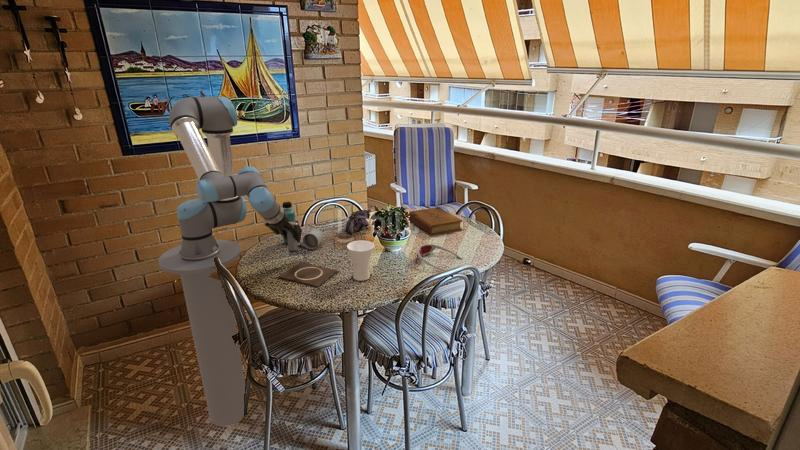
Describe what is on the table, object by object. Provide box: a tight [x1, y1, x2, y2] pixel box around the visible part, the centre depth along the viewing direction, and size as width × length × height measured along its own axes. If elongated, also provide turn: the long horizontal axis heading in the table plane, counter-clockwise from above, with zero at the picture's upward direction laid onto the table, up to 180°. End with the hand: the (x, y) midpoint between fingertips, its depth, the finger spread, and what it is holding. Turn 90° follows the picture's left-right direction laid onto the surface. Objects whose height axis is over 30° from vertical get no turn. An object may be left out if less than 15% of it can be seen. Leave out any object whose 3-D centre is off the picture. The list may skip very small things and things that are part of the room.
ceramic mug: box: [299, 228, 325, 250], centre depth 188 cm, size 11×8×8 cm
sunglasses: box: [416, 243, 462, 272], centre depth 174 cm, size 17×17×5 cm
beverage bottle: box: [282, 201, 296, 243], centre depth 189 cm, size 6×7×20 cm
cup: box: [346, 239, 375, 282], centre depth 158 cm, size 10×10×14 cm
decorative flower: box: [345, 209, 372, 235], centre depth 207 cm, size 15×12×15 cm
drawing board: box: [278, 262, 339, 288], centre depth 162 cm, size 18×14×1 cm
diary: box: [408, 206, 463, 237], centre depth 213 cm, size 23×19×6 cm
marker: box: [287, 231, 297, 254], centre depth 168 cm, size 3×3×12 cm
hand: (295, 239), depth 172 cm, fingers closed on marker, 3 cm apart
